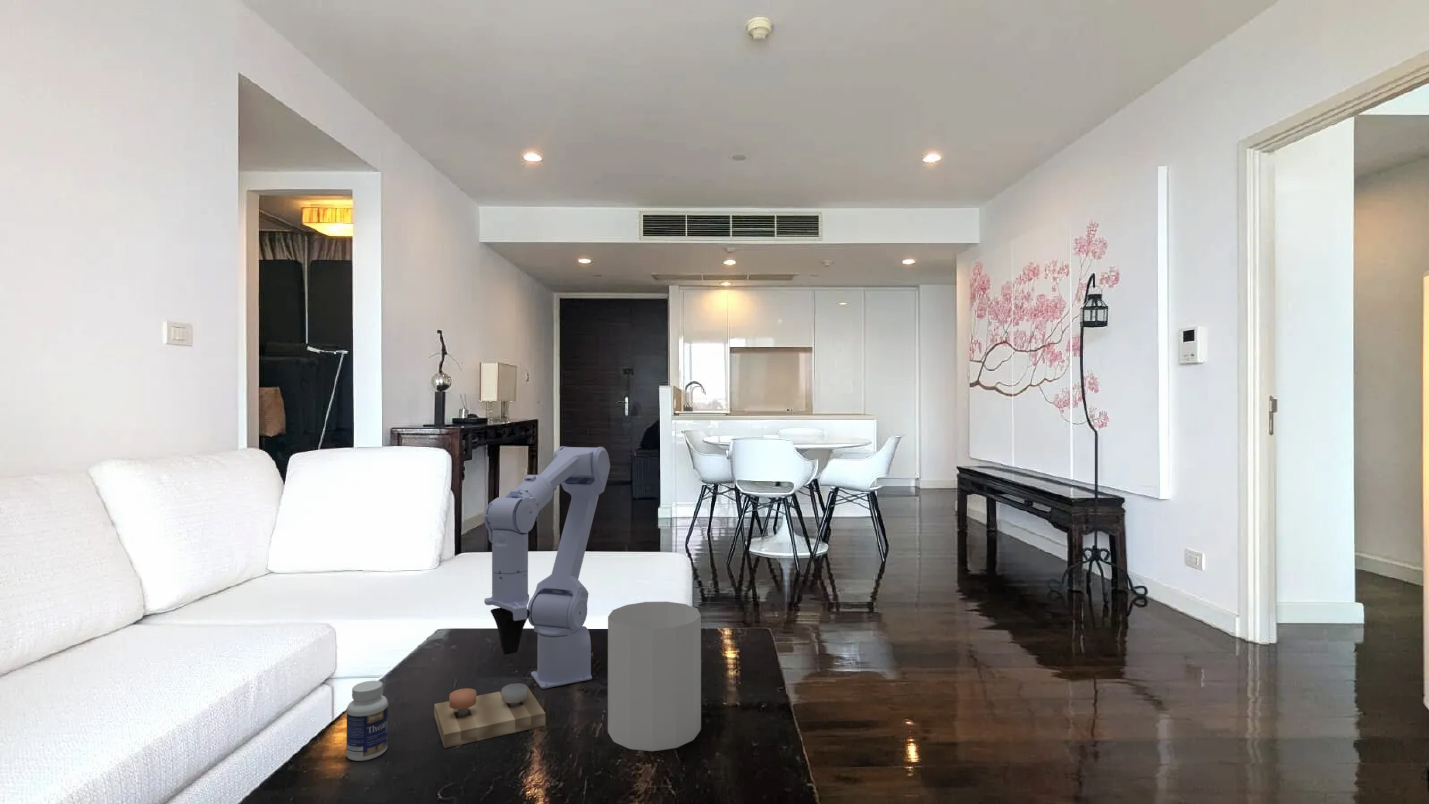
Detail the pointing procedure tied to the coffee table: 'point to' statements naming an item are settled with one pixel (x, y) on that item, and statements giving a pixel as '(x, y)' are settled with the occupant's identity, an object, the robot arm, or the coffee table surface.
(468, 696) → the rust plunger
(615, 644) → the container
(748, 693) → the coffee table surface
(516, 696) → the grey plunger
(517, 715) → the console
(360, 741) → the pill bottle
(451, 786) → the coffee table surface
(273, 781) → the coffee table surface
